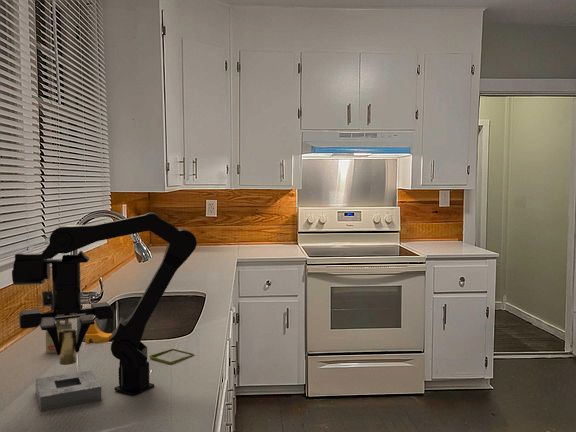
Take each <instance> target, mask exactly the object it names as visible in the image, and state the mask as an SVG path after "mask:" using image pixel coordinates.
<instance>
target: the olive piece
mask: <svg viewBox="0 0 576 432" xmlns="http://www.w3.org/2000/svg"><path fill="white" fill-rule="evenodd" d="M172 351H174V352H178V353H182V354H185V355H188V356H184V357H181V358H179V359H174V360H172V361H171V360H170V361H168V360H165V359H161V358H158V357H159V356H162V355H164V354H167V353H169V352H172ZM193 356H195V354H194V353H192V352H188V351H184V350H180V349H175V348H169V349H167V350H163V351H161V352H157V353H155V354H154V353H153V354H151V355H149V356H148V357H149V358H150V359H151V360H153V361H157V362H160V363H165V364H168V365H173V364H176V363H178V362H180V361H183V360H186V359H189V358H191V357H193Z"/></svg>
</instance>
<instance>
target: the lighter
mask: <svg viewBox="0 0 576 432" xmlns="http://www.w3.org/2000/svg"><path fill="white" fill-rule="evenodd" d="M69 320H70V319H60V320H55V322H54V323H55V324H56V326H57V333H58V340H59V331H60V330H64V329H73V323H72V322H70V321H69ZM45 353H46V354H57V352H56V350H55V347H54V344H53V341H52V339H51V337H50V335H49V333H48V331H47V330H45Z"/></svg>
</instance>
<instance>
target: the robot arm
mask: <svg viewBox="0 0 576 432" xmlns="http://www.w3.org/2000/svg"><path fill="white" fill-rule="evenodd" d="M143 232H144V233H145V232H151V233H153V234H155V235H156V236H157V237H158V238H161V240H164V241H165V242H166V243H167V245H166V248H165V250H164V251H165V252H164V255H163V258H162V260H161V263H160V264H159V266H158V268H157V270H156V272H155V273H154V274H153V277H152V279H151V280H150V282H149V284H148V285H147V287H146V289H145V290H144V293H143V295H142V296H141V298H140V300H139V301H138V303H137V305H136V306H135V308H134V309H133V312H132V313H131V314H130V316H129V317H127V319H124V318H123V317H120V319H119V321H118V324H117V326H116V327H115V328H114V330H113V331H112V332H111V333H112V335H111V339H110V340H109V341H111V345H110V352H111V354H112V355H113V357H114V358H116V359H117V360H119V362H118V363H119V364H118V365H119V367H118V385H117V386H114V388H113V390H114V391H117V392H120V393H125V394H126V395H131V396H136V395H138V394H141V393H143V392H145V391H148V390H149V389H152V388H154V387H155V383H151V382H150V362H149V361H148V346H147V345H145V343H144V342H142V338H143V335H144V332H145V329H146V326H147V324H148V322H149V320H150V318H151V316H152V314H153V313H154V312H155V309H156V307H157V305H158V304H159V302H160V300H161V299H162V297H163V295H164V294H165V291H166V289H168V286H169V284H170V282H171V280H172V279H173V277H174V276H175V274H176V273H177V271H178V269H179V268H180V267H182V265H184V264H185V262H186V261H187V260H188V259H189V257H190V256H191V255H192V254H193V252H194V251H195V250H196V248H197V245H198V244H197V243H198V241H197V238H196V236H195V235H194V233H192V232H191V231H190V230H189V229H186V228H177V227H176V226H174V225H172V224H171V223H169V222H168V221H166V220H165V219H163V218H162V217H159V215H158V214H156V213H155V212H147V213H145V214H142V215H137V216H131V217H128V218H123V219H122V218H121V219H116V220H113V221H108V222H103V223H97V224H69V225H63V226H59V227H57V228H55V229H54V230H53V231H52V233H51V234H50V236H49V244H48V245H47V247H46V248H44V249H43V250H42V253H41V252H40V253H26V252H17V253H15V254H14V261H13V265H12V266H13V267H12V271H11V278H12V283H13V285H14V286H23V285H25V286H26V285H27V286H28V285H44V283H45V281H46V280H49V279H50V276H51V281H52V283H51V286H52V287H51V288H52V289H51V290H49V291H48V290H47V291H46V290H45V291H42V293H41V294H42V295H41V296H42V297H41V298H42V299H41V300H42V307H50V310H51V311H46V312H41V311H40V308H34V309H23V310H21V311H20V312H19V313H18V325H19V329H22V330H23V329H33V328H38V327H40V330H41V331H46V330H47V331H48V333H49V335H50V337H51V339H52V341H53V344H54V347H55V350H56V352H57V353H56V355H57V356H59V355H60V347H59V340H58V333H57V326H56V324H55V323H54V322H56V321H55V320H60V319H68V320H70V319H75V318H76V353H79V351H80V349H81V346H82V343H83V341H84V338H85V335H86V334H87V330H88V328H89V326H90V325H92V324H95V321H96V320H94V318H96V319H98V320H99V321H102V320H109V319H110V320H111V319H114V307H113V306H112V305H111V304H110V303H108V302H107V301H105V302H104V301H103V302H95V303H91V304H90V307H84V308H82V302H81V301H82V298H81V295H82V294H81V286H82V285H81V264H82V263H83V264H84V263H88V262H89V261H90V257H89V256H87V255H86V254H85V253H84V251H83V250H80V251H79V252H78V253H77V254H69V253H71V252H74V251H76V250H79V249H82V248H84V247H87V246H89V245H91V244H94V243H97V242H101V241H105V240H110V239H115V238H119V237H125V236H129V235H130V236H131V235H135V234H138V233H143ZM58 254H63V255H62V257H61V258H58V259H57V258H56V259H52V258H54V257H56V256H57V255H58Z"/></svg>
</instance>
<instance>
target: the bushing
mask: <svg viewBox="0 0 576 432" xmlns="http://www.w3.org/2000/svg"><path fill="white" fill-rule="evenodd" d="M76 334H77V329H75V328H72V329H64V330H60V331H59V347H60V355H58V364H59V365H61V366H68V365H73V364H76V363H77V352H76Z"/></svg>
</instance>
